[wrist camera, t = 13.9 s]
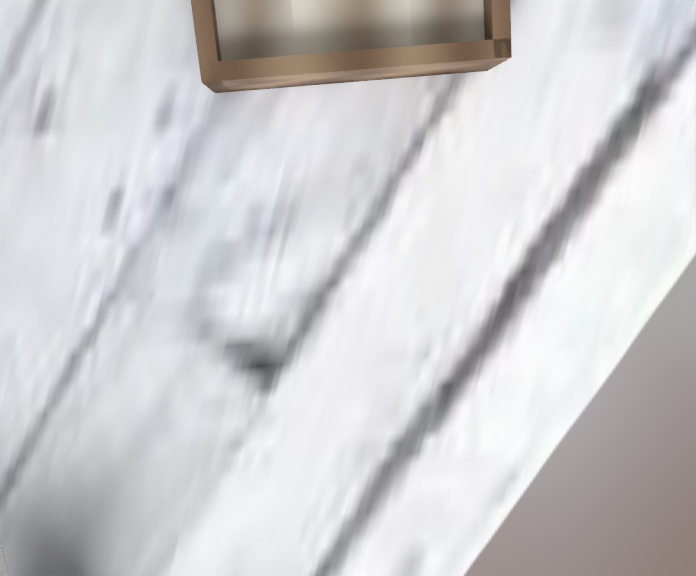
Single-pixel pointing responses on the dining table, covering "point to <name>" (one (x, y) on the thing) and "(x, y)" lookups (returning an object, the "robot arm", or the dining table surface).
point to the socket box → (345, 40)
